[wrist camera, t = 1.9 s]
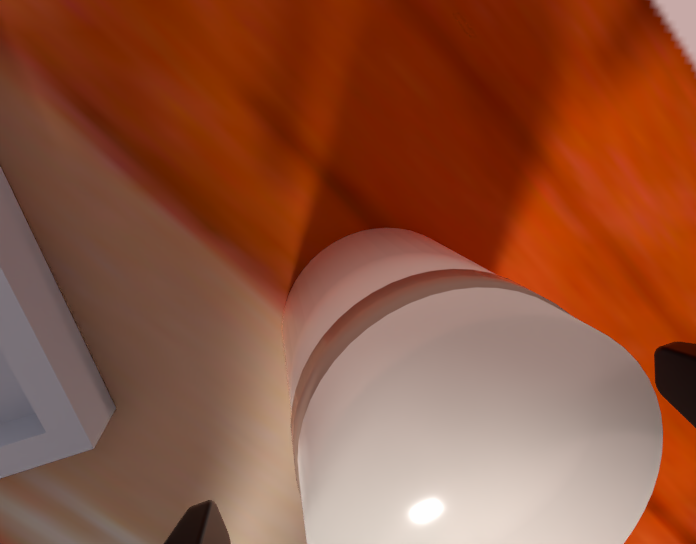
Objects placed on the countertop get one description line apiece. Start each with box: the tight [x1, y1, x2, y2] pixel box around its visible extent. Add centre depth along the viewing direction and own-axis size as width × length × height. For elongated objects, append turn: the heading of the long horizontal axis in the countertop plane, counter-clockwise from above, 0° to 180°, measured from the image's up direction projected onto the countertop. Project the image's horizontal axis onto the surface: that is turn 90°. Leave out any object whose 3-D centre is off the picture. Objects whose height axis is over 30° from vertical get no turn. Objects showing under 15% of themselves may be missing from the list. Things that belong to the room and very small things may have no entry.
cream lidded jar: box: [282, 228, 663, 544], centre depth 10 cm, size 6×6×7 cm
